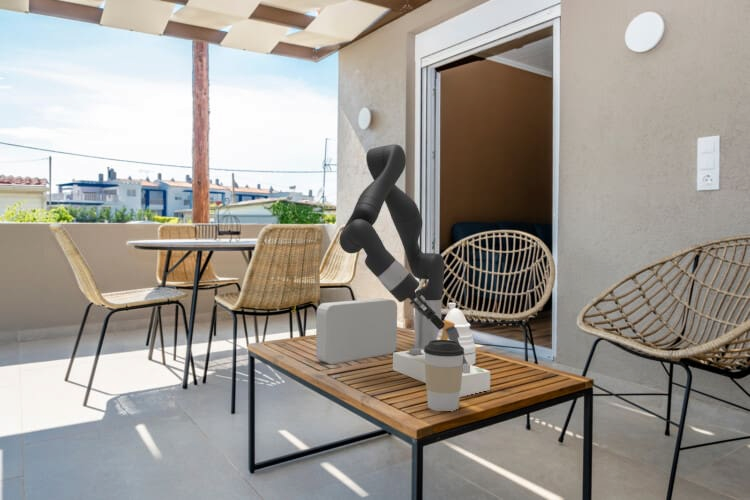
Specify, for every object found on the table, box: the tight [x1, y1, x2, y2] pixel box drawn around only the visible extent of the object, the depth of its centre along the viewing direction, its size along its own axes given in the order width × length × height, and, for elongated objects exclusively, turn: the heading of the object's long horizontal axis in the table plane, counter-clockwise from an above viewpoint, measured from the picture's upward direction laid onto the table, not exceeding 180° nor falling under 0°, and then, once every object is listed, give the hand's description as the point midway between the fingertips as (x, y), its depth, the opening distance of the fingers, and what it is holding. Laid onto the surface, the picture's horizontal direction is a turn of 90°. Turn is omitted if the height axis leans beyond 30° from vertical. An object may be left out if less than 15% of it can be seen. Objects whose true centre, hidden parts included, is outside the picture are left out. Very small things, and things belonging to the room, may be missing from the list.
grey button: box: [408, 347, 421, 356], centre depth 145 cm, size 3×3×3 cm
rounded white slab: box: [315, 297, 398, 365], centre depth 161 cm, size 29×8×18 cm, turn 129°
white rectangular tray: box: [392, 349, 491, 398], centre depth 136 cm, size 10×29×7 cm, turn 32°
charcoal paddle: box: [445, 326, 468, 364], centre depth 127 cm, size 2×4×11 cm, turn 3°
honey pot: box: [436, 302, 477, 366], centre depth 157 cm, size 13×13×18 cm
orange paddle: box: [440, 318, 455, 340], centre depth 136 cm, size 2×4×11 cm, turn 1°
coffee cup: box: [424, 340, 464, 412], centre depth 113 cm, size 9×9×15 cm
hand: (442, 327), depth 135 cm, fingers closed
